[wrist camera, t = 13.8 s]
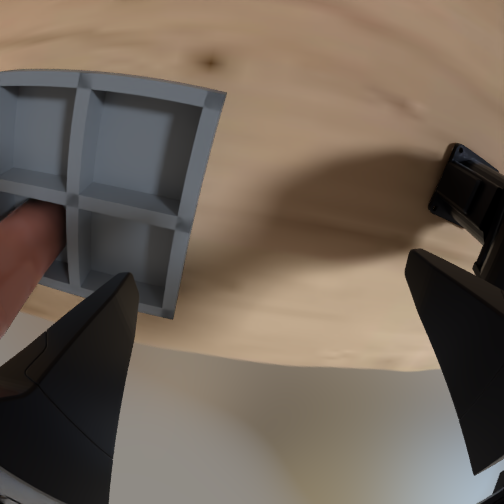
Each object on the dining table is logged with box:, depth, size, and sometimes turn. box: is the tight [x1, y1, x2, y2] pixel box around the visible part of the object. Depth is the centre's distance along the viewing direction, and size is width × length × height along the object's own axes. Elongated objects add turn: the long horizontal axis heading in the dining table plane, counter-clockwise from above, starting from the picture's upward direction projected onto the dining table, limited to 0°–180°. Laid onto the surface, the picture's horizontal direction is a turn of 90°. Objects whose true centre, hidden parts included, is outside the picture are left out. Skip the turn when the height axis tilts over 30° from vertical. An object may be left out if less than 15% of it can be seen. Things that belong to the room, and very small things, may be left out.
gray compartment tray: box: [0, 69, 227, 320], centre depth 19 cm, size 17×17×3 cm
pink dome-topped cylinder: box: [0, 198, 67, 339], centre depth 16 cm, size 5×5×13 cm
